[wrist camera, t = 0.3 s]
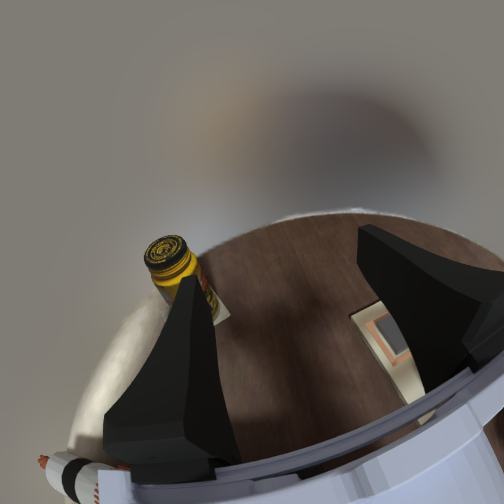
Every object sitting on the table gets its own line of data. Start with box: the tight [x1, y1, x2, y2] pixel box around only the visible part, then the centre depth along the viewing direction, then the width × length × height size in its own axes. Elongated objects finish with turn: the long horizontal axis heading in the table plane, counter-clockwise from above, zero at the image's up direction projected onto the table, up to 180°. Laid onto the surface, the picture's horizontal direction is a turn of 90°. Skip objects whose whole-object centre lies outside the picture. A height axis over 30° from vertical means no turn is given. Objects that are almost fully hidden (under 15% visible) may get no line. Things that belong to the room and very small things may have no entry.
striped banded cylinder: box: [38, 452, 325, 504], centre depth 17 cm, size 10×34×10 cm, turn 88°
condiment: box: [144, 235, 231, 326], centre depth 35 cm, size 7×8×12 cm
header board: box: [351, 301, 436, 428], centre depth 23 cm, size 20×12×5 cm, turn 17°
